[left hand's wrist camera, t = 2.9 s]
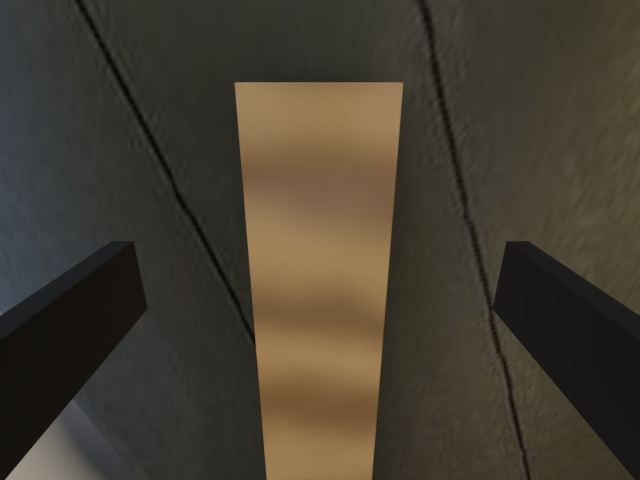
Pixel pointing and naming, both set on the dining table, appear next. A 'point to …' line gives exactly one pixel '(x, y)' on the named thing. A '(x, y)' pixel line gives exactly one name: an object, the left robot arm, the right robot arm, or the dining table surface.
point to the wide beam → (319, 265)
